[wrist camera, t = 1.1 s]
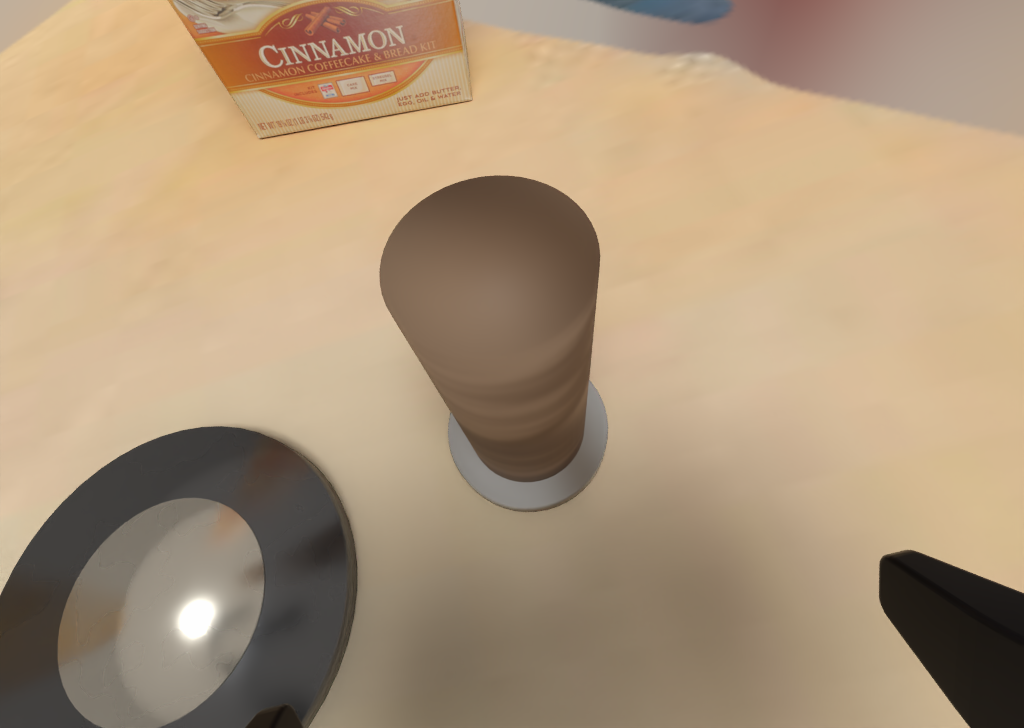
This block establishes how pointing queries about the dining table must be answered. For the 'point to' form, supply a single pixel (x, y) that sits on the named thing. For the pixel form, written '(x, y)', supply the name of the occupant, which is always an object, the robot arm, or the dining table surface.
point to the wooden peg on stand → (505, 332)
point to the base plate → (181, 591)
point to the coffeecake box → (331, 57)
